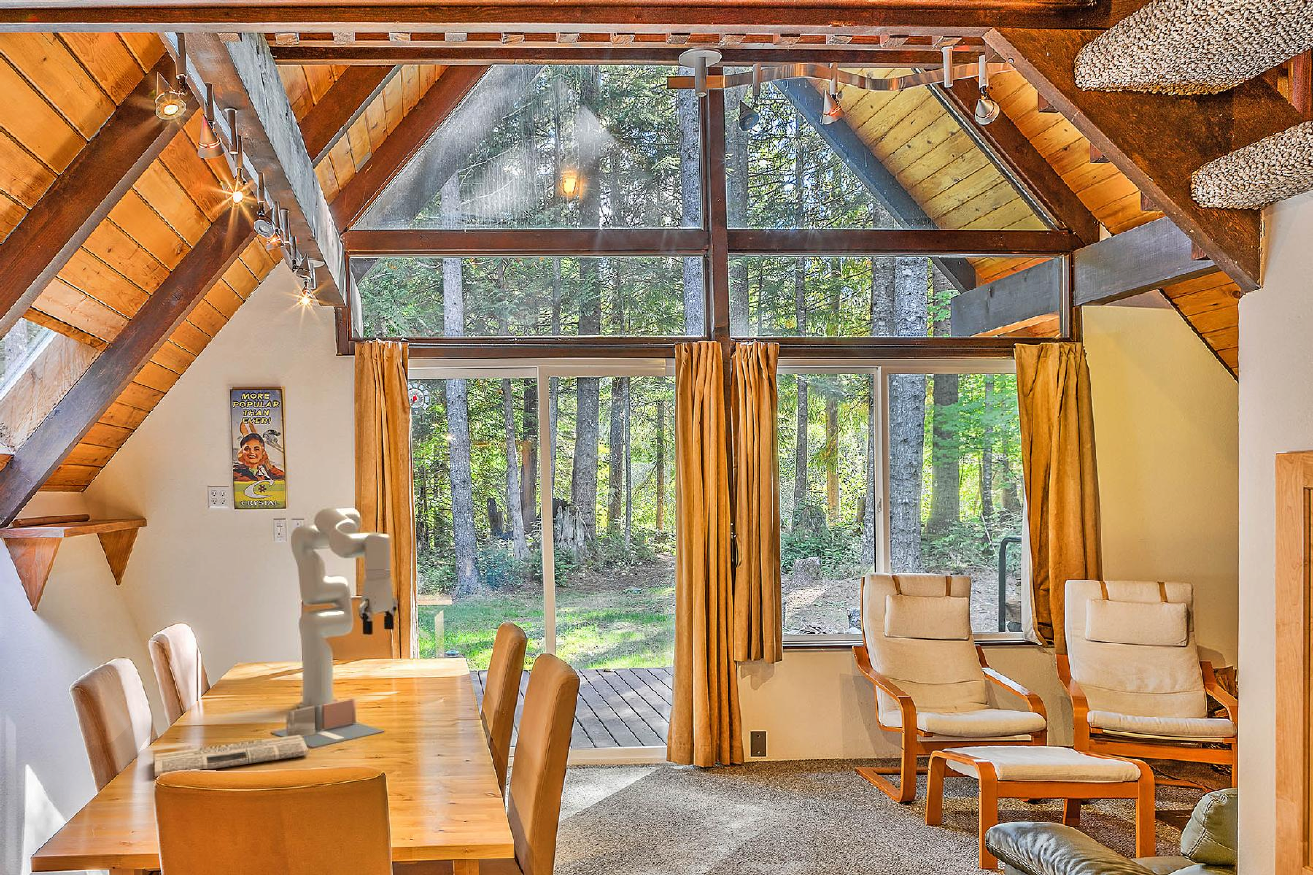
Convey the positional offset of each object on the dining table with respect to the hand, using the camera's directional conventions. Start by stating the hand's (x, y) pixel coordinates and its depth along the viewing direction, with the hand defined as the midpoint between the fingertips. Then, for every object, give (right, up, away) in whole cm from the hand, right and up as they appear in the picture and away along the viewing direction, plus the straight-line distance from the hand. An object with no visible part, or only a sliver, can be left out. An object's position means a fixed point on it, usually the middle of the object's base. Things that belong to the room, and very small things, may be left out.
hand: (378, 631), depth 302 cm
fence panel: (-12, -28, -2) cm, 31 cm away
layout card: (-14, -29, -6) cm, 32 cm away
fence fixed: (-20, -28, -10) cm, 36 cm away
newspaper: (-31, -28, -33) cm, 53 cm away
